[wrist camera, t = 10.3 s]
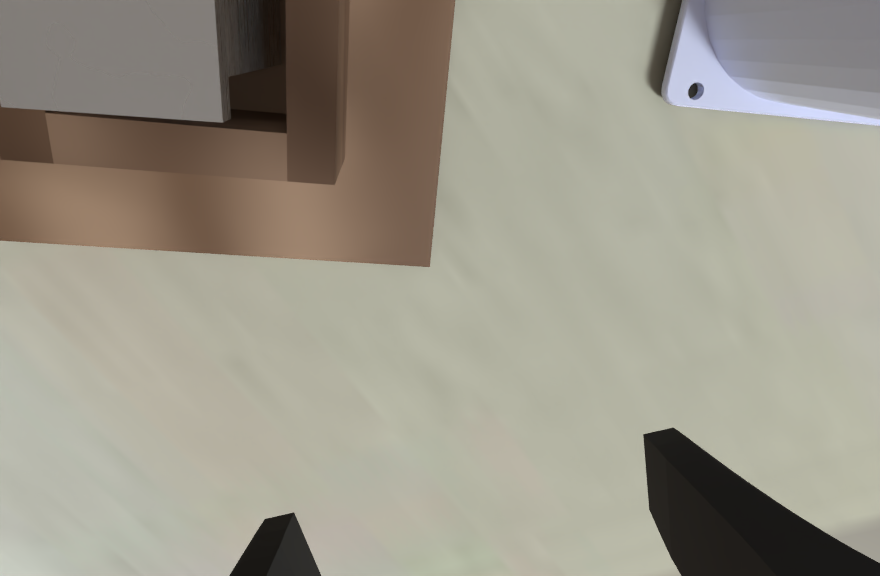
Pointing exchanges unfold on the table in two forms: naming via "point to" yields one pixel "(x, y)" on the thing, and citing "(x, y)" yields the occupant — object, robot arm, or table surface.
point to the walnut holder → (258, 151)
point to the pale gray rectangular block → (133, 54)
